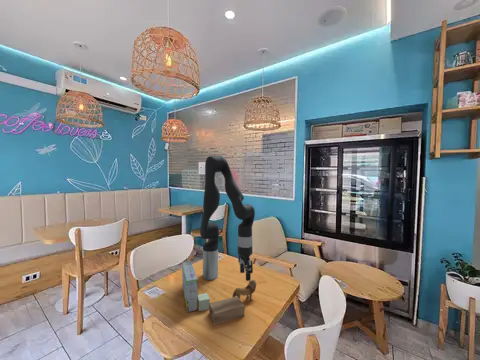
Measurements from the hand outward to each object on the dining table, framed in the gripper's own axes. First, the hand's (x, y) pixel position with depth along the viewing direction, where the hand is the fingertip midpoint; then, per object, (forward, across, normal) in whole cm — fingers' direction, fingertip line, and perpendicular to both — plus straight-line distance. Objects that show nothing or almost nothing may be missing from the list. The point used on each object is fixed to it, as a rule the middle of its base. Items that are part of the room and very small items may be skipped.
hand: (245, 276), depth 105 cm
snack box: (+12, -10, -26) cm, 31 cm away
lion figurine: (+12, 0, 0) cm, 12 cm away
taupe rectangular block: (+12, +8, -12) cm, 19 cm away
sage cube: (+12, -1, -21) cm, 24 cm away
